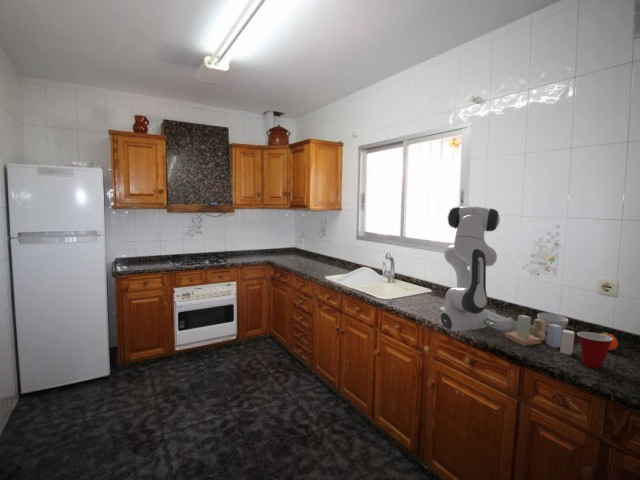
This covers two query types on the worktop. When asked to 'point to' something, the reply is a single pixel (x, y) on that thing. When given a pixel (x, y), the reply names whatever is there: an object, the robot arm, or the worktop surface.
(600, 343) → the plastic cup
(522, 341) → the terracotta tile
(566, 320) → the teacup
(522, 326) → the sage green post
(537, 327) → the beech post
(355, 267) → the worktop surface
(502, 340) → the worktop surface
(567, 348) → the cream post
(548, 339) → the dusty blue post
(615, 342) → the clementine
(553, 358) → the worktop surface
